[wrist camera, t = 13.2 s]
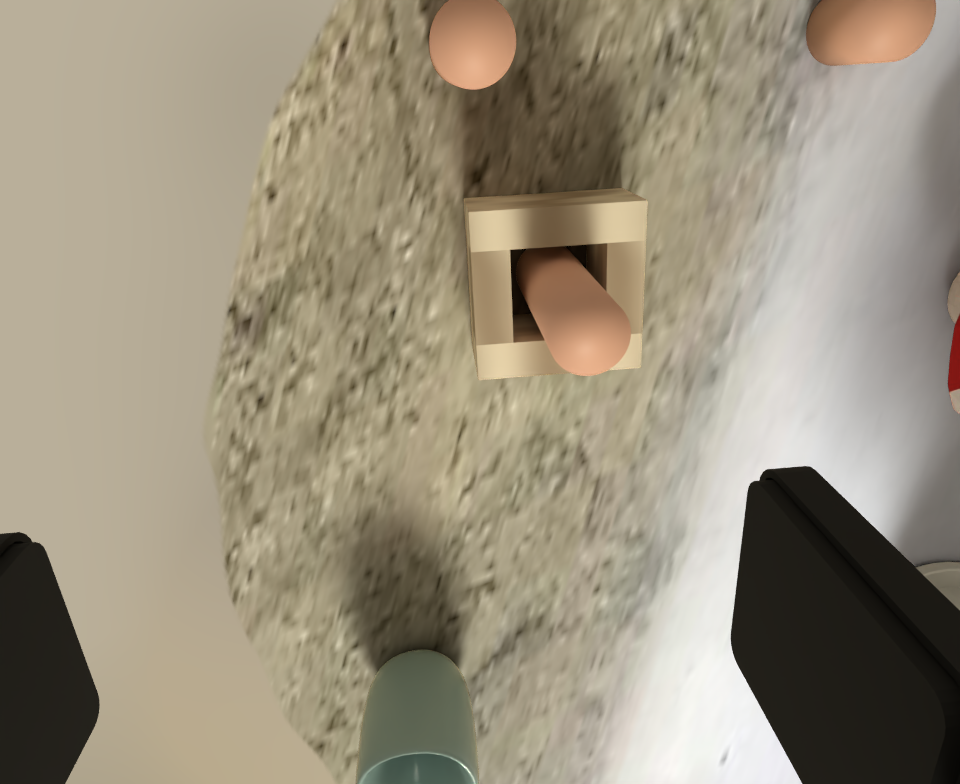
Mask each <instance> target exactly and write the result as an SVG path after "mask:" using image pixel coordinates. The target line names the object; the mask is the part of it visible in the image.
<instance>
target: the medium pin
mask: <svg viewBox="0 0 960 784" xmlns="http://www.w3.org/2000/svg"><path fill="white" fill-rule="evenodd" d="M429 50H430V57H431V61H432V64H433V66H434V68H435V70H436V71H437V73H438V74H439V75H440V76H441V77H442V78H443V79H444V80H445V81H447V82H448V83H450V84H452V85H455V86H458V87H461V88H464V89H473V90H474V89H482V88H485V87H488V86H490V85H492V84H494V83H496V82H497V81H498V80H499V79H500V78H502V77H503V76H504V74H505V73H506V72H507V70H508V69H509V67H510V65H511V63H512V61H513V58H514V55H515V50H516V33H515V28H514V25H513V22H512V19H511V17H510V15H509V14H508V12H507V11H506V9H505V8H504V7H503V6H502V5H501V4H500V3H499V2H498V1H496V0H449V1H447V2H446V3H445V4H444V5H443V6H442V7H441V8H440V10H439V11H438V12H437V14H436V16H435V18H434V20H433V23H432V26H431V30H430V39H429Z"/></svg>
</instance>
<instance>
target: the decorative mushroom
mask: <svg viewBox="0 0 960 784" xmlns="http://www.w3.org/2000/svg"><path fill="white" fill-rule="evenodd" d="M947 304H948V312H949V315H950V317H951V319H952V321H953V322H954V323H955V327H954V333H953V340H952V346H951V352H950V362H949V375H948V388H949V394H950V398H951V401H952V405H953V409H954V410H956V411H957V412H958V413H959V414H960V272H959V273H958V275H957V276H956V278H955V279H954V281H953V283H952V285H951V288H950V291H949V295H948V301H947Z"/></svg>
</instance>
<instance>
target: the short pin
mask: <svg viewBox="0 0 960 784" xmlns="http://www.w3.org/2000/svg"><path fill="white" fill-rule="evenodd" d="M935 14H936V2H935V0H821V1H820V2H819V4H818V5H817V6H816V7H815V9H814V10H813V12H812V14H811V16H810V18H809V21H808V25H807V30H806V40H807V45H808V48H809V51H810V53H811V54H812V56H813V57H814V58H815V59H816V60H817V61H819V62H821V63H822V64H825V65H830V66H837V65H852V64H867V63H882V62H894V61H899V60H902V59H904V58H906V57H908V56H910V55H911V54H913V53H914V52H915V51H916V50H917V49H918V48H919V47H920V46H921V45H922V44H923V43H924V41H925V40H926V39H927V37H928V35H929V34H930V31H931V29H932V27H933V24H934V20H935Z"/></svg>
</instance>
